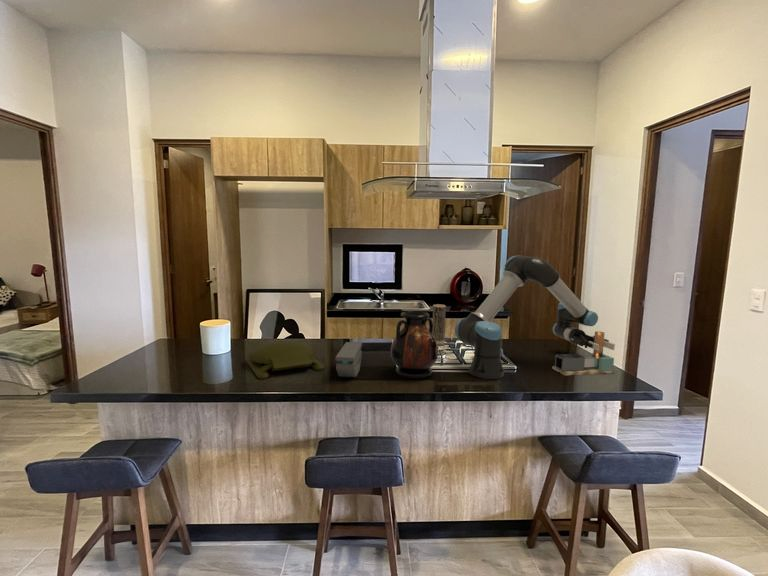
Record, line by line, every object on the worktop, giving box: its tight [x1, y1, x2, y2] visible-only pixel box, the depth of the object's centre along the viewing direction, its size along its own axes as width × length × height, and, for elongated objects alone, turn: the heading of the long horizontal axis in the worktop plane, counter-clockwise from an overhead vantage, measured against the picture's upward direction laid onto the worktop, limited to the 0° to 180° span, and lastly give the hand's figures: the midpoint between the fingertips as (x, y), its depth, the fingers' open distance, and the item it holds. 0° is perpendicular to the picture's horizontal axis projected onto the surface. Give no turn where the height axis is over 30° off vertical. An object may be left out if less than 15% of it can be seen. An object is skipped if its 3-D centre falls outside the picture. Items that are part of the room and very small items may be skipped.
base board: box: [552, 365, 614, 376], centre depth 194 cm, size 25×10×1 cm, turn 100°
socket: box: [588, 352, 615, 371], centre depth 195 cm, size 6×9×6 cm, turn 10°
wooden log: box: [432, 303, 447, 347], centre depth 226 cm, size 7×7×25 cm
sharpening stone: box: [335, 341, 363, 378], centre depth 187 cm, size 25×8×11 cm, turn 175°
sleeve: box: [554, 353, 585, 372], centre depth 192 cm, size 11×6×6 cm, turn 100°
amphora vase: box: [390, 310, 439, 379], centre depth 186 cm, size 22×22×28 cm
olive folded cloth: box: [246, 341, 325, 380], centre depth 198 cm, size 35×31×10 cm
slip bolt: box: [582, 331, 605, 367], centre depth 193 cm, size 15×4×16 cm, turn 100°
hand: (606, 347), depth 189 cm, fingers open, 7 cm apart
